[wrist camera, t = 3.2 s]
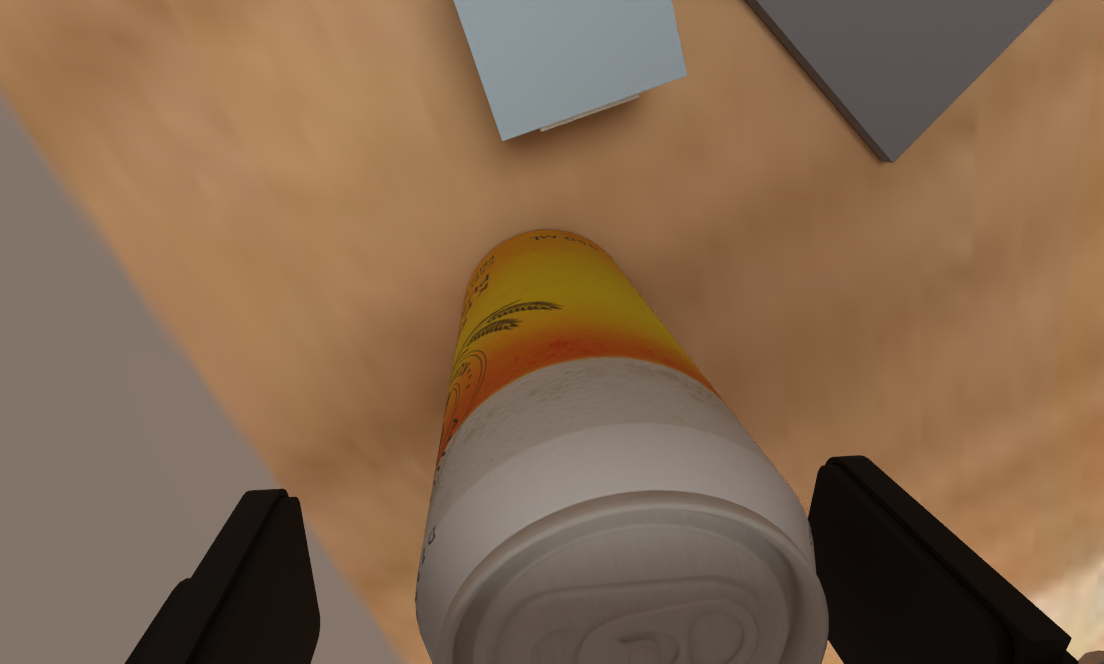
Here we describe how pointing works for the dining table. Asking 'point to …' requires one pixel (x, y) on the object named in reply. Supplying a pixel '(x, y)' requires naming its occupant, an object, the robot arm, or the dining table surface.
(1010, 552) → the dining table surface
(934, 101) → the coaster
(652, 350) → the beer can
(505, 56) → the letter block
